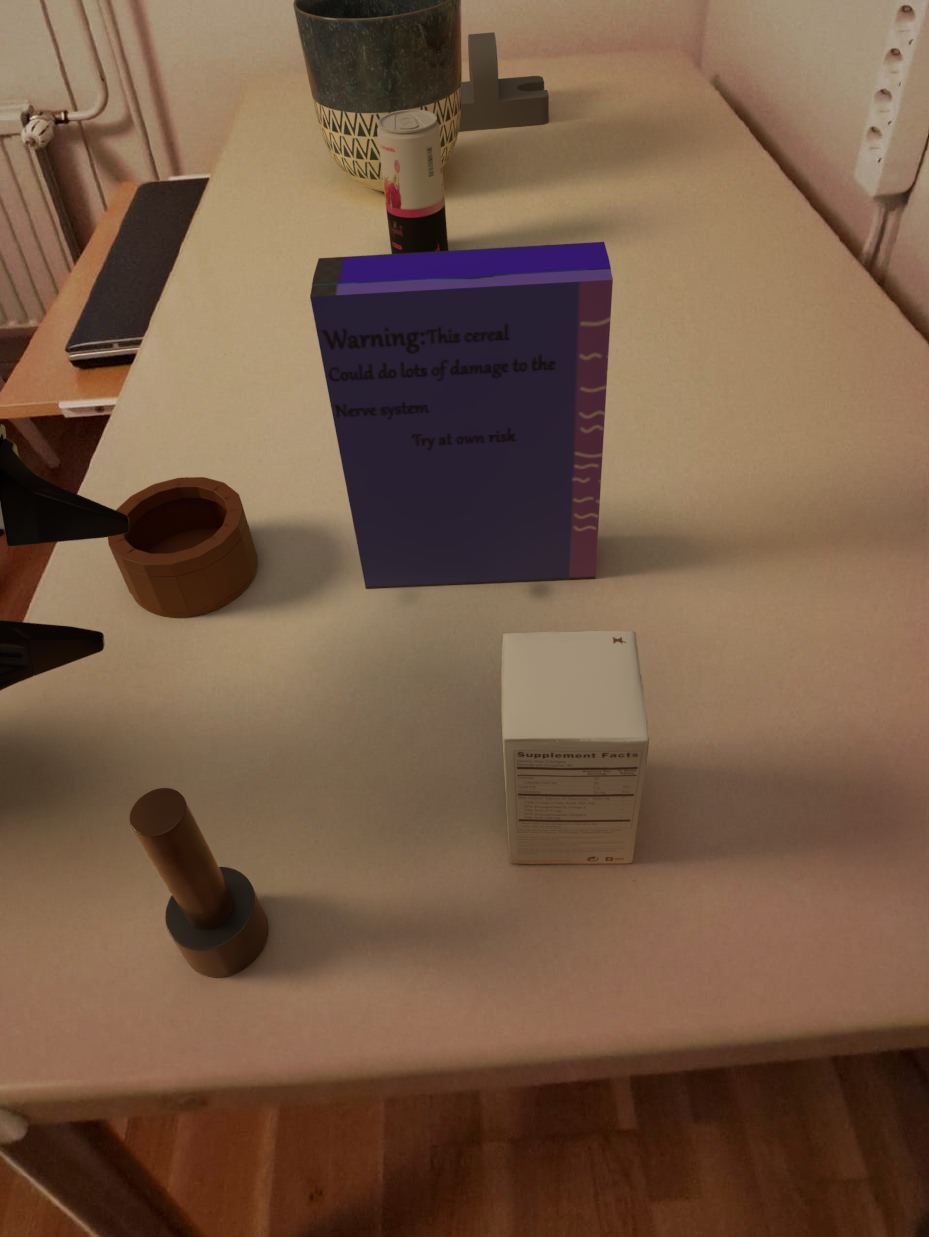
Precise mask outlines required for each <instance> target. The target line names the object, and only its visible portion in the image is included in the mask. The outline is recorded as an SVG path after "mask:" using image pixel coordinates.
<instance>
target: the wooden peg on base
mask: <svg viewBox="0 0 929 1237" xmlns="http://www.w3.org/2000/svg"><path fill="white" fill-rule="evenodd" d="M129 824H130V828H132V830H133V832H134V833H135V835H136V837H137V838H138V841H139V842H140V844H141V845H142V847H143V849H144V850H145V852H146V854H147V855H148V857H149V858H150V860H151V862H152V864H153V865H154V867H155V868H156V870H157V872H158V874H159V875H160V877H161V879H162V880H163V882H164V884H165V885H166V887H167V888H168V890H169V892H170V894H171V895H170V898H169V900H168V903H167V905H166V910H165V917H164V920H165V926H166V929H167V930H166V931H167V932H168V934H169V936H170V937H171V939H172V940H173V942H174V943H175V945H176V947H177V948H178V950H179V951H180V953H181V955H182V956H183V957H184V959H185V960H186V961H187V964H188V965H189V966H190V967H191V968H192V969H193V970H194V971H195V972H197V973H199V974H200V975H203V976H206V977H209V978H224V977H230V976H232V975H236V974H238V973H240V972H241V971H243V970H245V969H247V968H248V967H249V966H250V965H251V964H252V963H253V962H254V961H256V959H257V958H258V957H259V955H260V954H261V953H262V951H263V949H264V948H265V945H266V944H267V943H266V942H267V940H268V936H269V921H268V918H267V914H266V912H265V911H264V908H263V906H262V904H261V902H260V899H259V897H258V895H257V893H256V891H255V889H254V886H253V884H252V883H251V881H250V880H249V877H247V876H246V875H245V874H244V873H242V872H241V871H239V870H237V869H234V868H231V867H228V866H219V864H218V862H217V860H216V858H215V856H214V854H213V853H212V850H211V849H210V848H211V847H210V846H209V845H208V842H207V840H206V839H205V836H204V834H203V832H202V830H201V829H200V826H199V824H198V822H197V820H196V819H195V817H194V814H193V812H192V810H191V809H190V807H189V805H188V803H187V801H186V799H185V796H184V795H183V794H182V793H181V792H180V791H178V790H177V789H174V788H170V787H160V788H155V789H152V790H150V791H147V792H146V793H144V794H142V796H140V797H139V798H138V799H137V800H136V801H135V802H134V804H133V805H132V808H131V810H130V813H129Z"/></svg>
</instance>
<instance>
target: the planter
mask: <svg viewBox="0 0 929 1237" xmlns="http://www.w3.org/2000/svg"><path fill="white" fill-rule="evenodd" d="M292 4H293V11H294V16H295V22H296V27H297V32H298V37H299V41H300V45H301V50H302V55H303V59H304V63H305V68H306V74H307V78H308V82H309V87H310V92H311V96H312V102H313V107H314V110H315V115H316V120H317V124H318V127H319V130H320V133H321V135H322V138H323V141H324V143H325V145H326V148H327V151H328V152H329V154H330V156H331V158H332V160H334V162H335V163H336V165H337V166H338V167H339V168H340V169H341V170H342V171H343V172H344V173H345V174H346V175H347V176H348V177H350V178H351V180H353V181H355V182H356V183H358V184H360V185H362V186H363V187H364V188H365V187H366V188H368V189H370V190H374V191H377V192H384V185H383V176H382V168H381V159H380V151H379V143H378V134H377V128H378V127H379V126H378V120H379V119H380V118H381V117H383V116H384V115H386V114H389V113H392V112H396V111H401V110H411V109H417V110H425V111H429V112H432V113H434V114H435V115H436V116H437V122H438V123H439V130H440V143H441V157H442V168H443V167H444V166H445V165H446V163H447V162H448V161H449V159H450V157H451V156H452V153H453V151H454V149H455V147H456V144H457V141H458V137H459V133H460V131H459V127H460V120H461V106H462V82H463V81H462V75H463V74H462V73H463V70H462V68H463V65H462V64H463V63H462V60H463V59H462V0H293V3H292Z"/></svg>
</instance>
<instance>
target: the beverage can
mask: <svg viewBox="0 0 929 1237" xmlns="http://www.w3.org/2000/svg"><path fill="white" fill-rule="evenodd" d="M378 126H379V127H378V128H377V134H378V143H379V151H380V159H381V168H382V176H383V185H384V202H385V209H386V217H387V226H388V234H389V243H390V253H391V254H400V253H418V252H435V251H449V242H448V240H449V239H448V227H447V214H446V201H445V186H444V174H443V173H444V172H443V167H442V157H441V143H440V130H439V123H438V122H437V116H436V115H435V114H434V113H432V112H429V111H425V110H417V109H411V110H401V111H396V112H392V113H389V114H386V115H384V116H383V117H381V118H380V119H379V120H378Z"/></svg>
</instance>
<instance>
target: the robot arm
mask: <svg viewBox="0 0 929 1237" xmlns="http://www.w3.org/2000/svg"><path fill="white" fill-rule="evenodd" d="M116 510H117V509H116ZM116 510H115V509H114V508H112V507H108V506H106V505H104V504H102V503H99V502H96V501H94V500H92V499H89V498H88V497H85V496H83V495H80V494H78V493H76V492H73V491H71V490H68V489H66V488H63V487H62V486H59V485H57V484H55V483H53V482H51V481H49V480H47V479H46V478H43V477H42V476H40V475H38V474H36V473H35V472H34V471H32V469H31V468H30V467H29V466H28V464H26V463H25V462H24V461H23V460H22V459H21V457H20V456H19V452H18V446H17V444H16V443H15V442H14V441H13V440H11V439H10V438H7V432H6V426H5V425H4V424H2V423H0V538H1V537H3V536H5V537H6V538H5V540H6V543H7V547H20V546H30V545H39V544H49V543H61V542H62V543H63V542H73V541H83V540H92V539H93V540H94V539H105V538H108V537H110V536H116V535H121V534H126V533H128V532H129V528H130V525H129V517H128V516H127V515H125V514H123V513H121V512H118V511H116ZM105 642H106V641H105V635H104V633H103V632H101V631H99V630H94V629H87V628H82V627H76V626H70V625H58V624H49V623H36V622H26V621H25V622H24V621H14V620H13V621H12V620H4V619H3V620H2V619H0V691H3V690H5V689H7V688H8V687H11V686H13V685H16V684H18V683H20V682H23V681H25V680H28V679H30V678H33V677H35V676H39V675H41V674H45V673H47V672H49V671H52V670H56V669H58V668H61V667H63V666H66V665H68V664H71V663H74V662H77V661H80V660H82V659H84V658H88V657H90V656H92V655H96V654H99V653H101V652H102V651H104V649H105V645H106V643H105Z"/></svg>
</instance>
